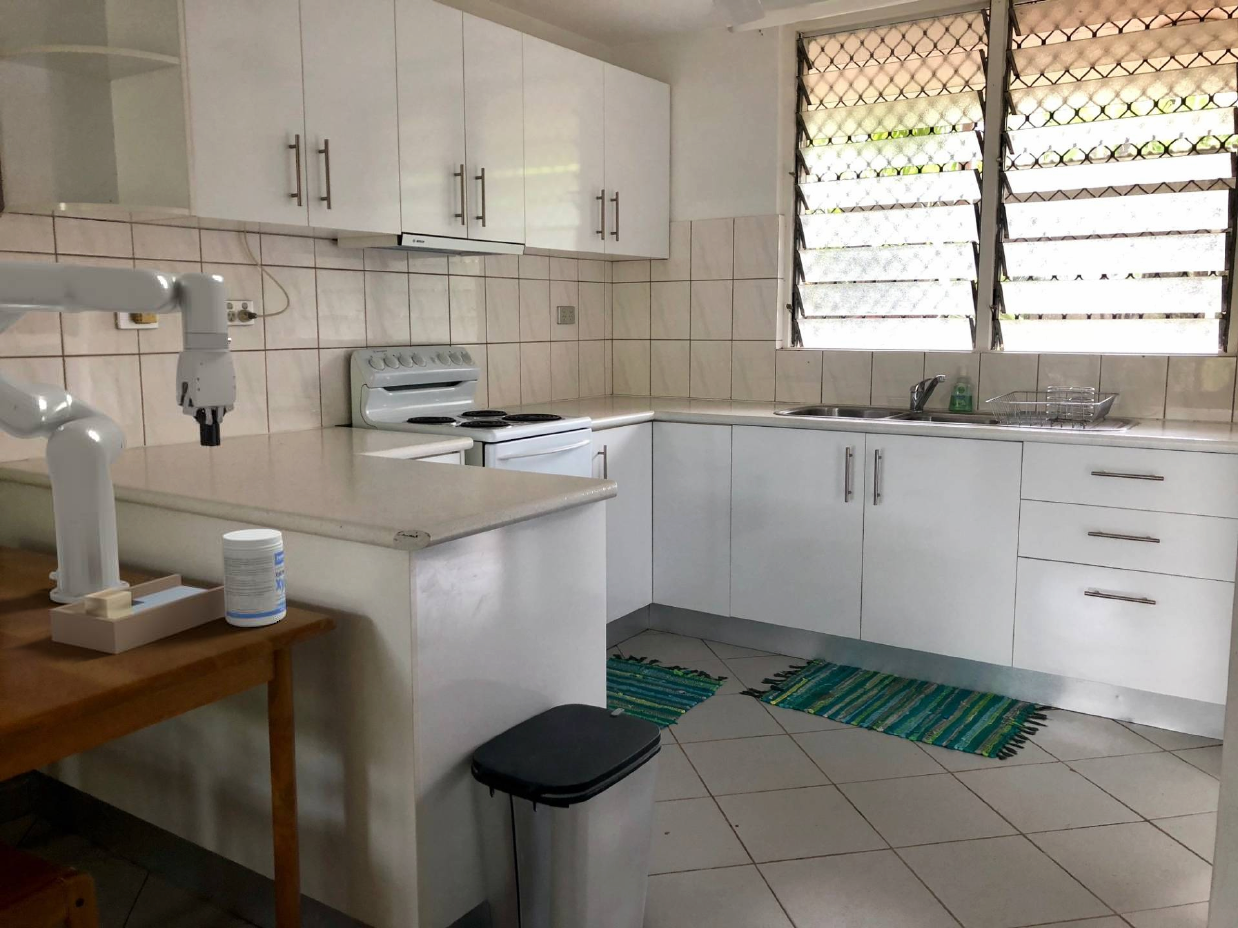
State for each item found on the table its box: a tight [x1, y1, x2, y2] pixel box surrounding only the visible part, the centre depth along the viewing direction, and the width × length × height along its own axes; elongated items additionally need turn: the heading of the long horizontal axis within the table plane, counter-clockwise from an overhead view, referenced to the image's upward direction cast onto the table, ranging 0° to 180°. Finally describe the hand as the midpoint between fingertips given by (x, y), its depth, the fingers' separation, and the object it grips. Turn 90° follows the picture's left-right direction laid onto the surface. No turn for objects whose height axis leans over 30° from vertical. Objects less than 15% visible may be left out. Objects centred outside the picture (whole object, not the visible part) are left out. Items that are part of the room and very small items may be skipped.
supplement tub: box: [221, 528, 287, 628], centre depth 161 cm, size 10×10×15 cm
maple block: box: [84, 589, 132, 619], centre depth 150 cm, size 4×4×4 cm
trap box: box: [49, 573, 226, 655], centre depth 158 cm, size 14×24×5 cm, turn 156°
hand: (210, 445), depth 175 cm, fingers closed
